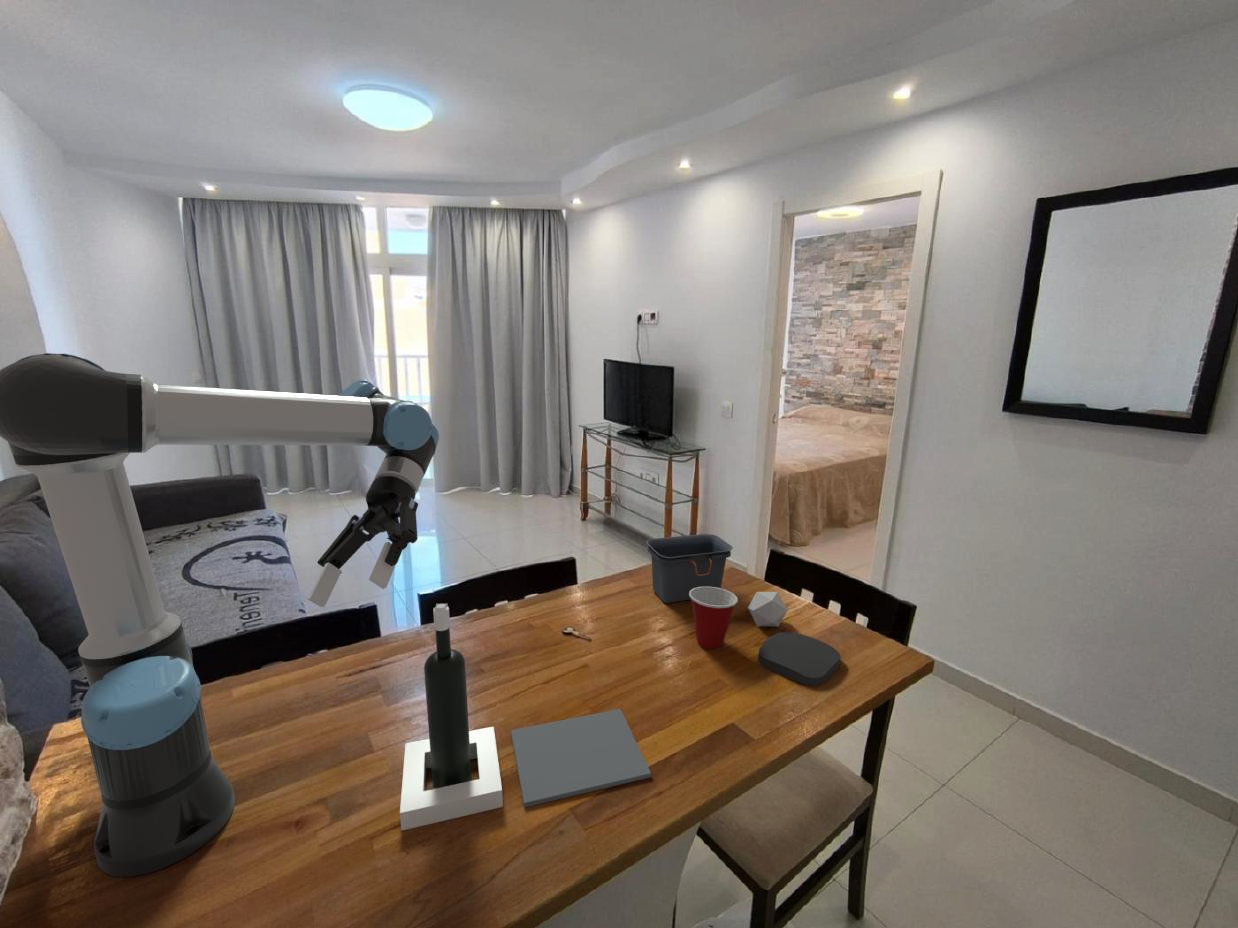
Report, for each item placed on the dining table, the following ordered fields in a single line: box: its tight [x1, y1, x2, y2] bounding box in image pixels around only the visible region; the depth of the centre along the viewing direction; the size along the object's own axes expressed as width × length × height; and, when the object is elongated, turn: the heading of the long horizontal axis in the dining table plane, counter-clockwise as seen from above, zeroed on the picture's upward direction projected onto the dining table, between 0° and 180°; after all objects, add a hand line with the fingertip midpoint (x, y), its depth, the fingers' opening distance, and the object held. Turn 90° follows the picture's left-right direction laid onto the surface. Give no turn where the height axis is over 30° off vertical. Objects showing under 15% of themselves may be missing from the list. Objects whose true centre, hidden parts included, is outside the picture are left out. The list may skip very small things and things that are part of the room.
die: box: [747, 591, 788, 628], centre depth 134 cm, size 8×9×10 cm
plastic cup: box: [689, 586, 739, 650], centre depth 125 cm, size 11×11×12 cm
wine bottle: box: [423, 602, 472, 789], centre depth 83 cm, size 6×6×30 cm
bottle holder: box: [399, 726, 504, 831], centre depth 86 cm, size 14×14×3 cm
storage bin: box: [645, 533, 734, 604], centre depth 147 cm, size 21×16×14 cm
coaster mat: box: [510, 708, 652, 808], centre depth 92 cm, size 20×16×1 cm
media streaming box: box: [757, 631, 841, 687], centre depth 119 cm, size 15×15×3 cm
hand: (345, 593), depth 83 cm, fingers open, 13 cm apart
